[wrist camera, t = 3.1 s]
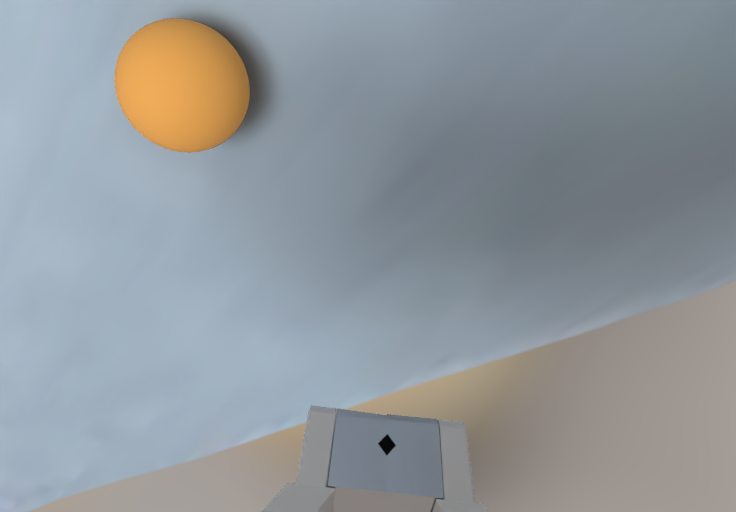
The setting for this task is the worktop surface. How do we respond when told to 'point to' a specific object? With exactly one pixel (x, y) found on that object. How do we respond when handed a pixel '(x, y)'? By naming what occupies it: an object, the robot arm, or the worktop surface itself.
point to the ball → (182, 85)
